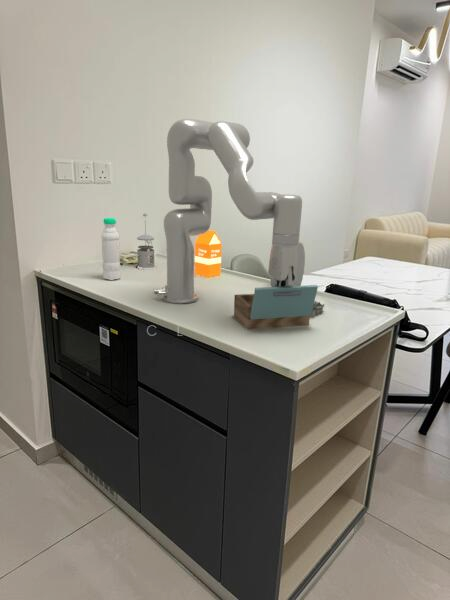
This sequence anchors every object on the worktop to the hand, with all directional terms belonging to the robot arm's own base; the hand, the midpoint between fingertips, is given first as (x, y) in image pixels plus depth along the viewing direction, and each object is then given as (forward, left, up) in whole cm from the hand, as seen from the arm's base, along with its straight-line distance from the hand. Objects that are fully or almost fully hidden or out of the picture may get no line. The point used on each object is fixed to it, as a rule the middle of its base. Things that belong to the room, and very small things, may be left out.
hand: (280, 301), depth 130 cm
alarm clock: (+22, +43, -8) cm, 49 cm away
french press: (-28, +92, -8) cm, 97 cm away
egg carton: (+16, +12, -9) cm, 21 cm away
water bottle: (-45, +70, -8) cm, 84 cm away
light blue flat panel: (0, -1, -5) cm, 5 cm away
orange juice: (-4, +70, -8) cm, 71 cm away
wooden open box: (0, +6, -8) cm, 10 cm away
